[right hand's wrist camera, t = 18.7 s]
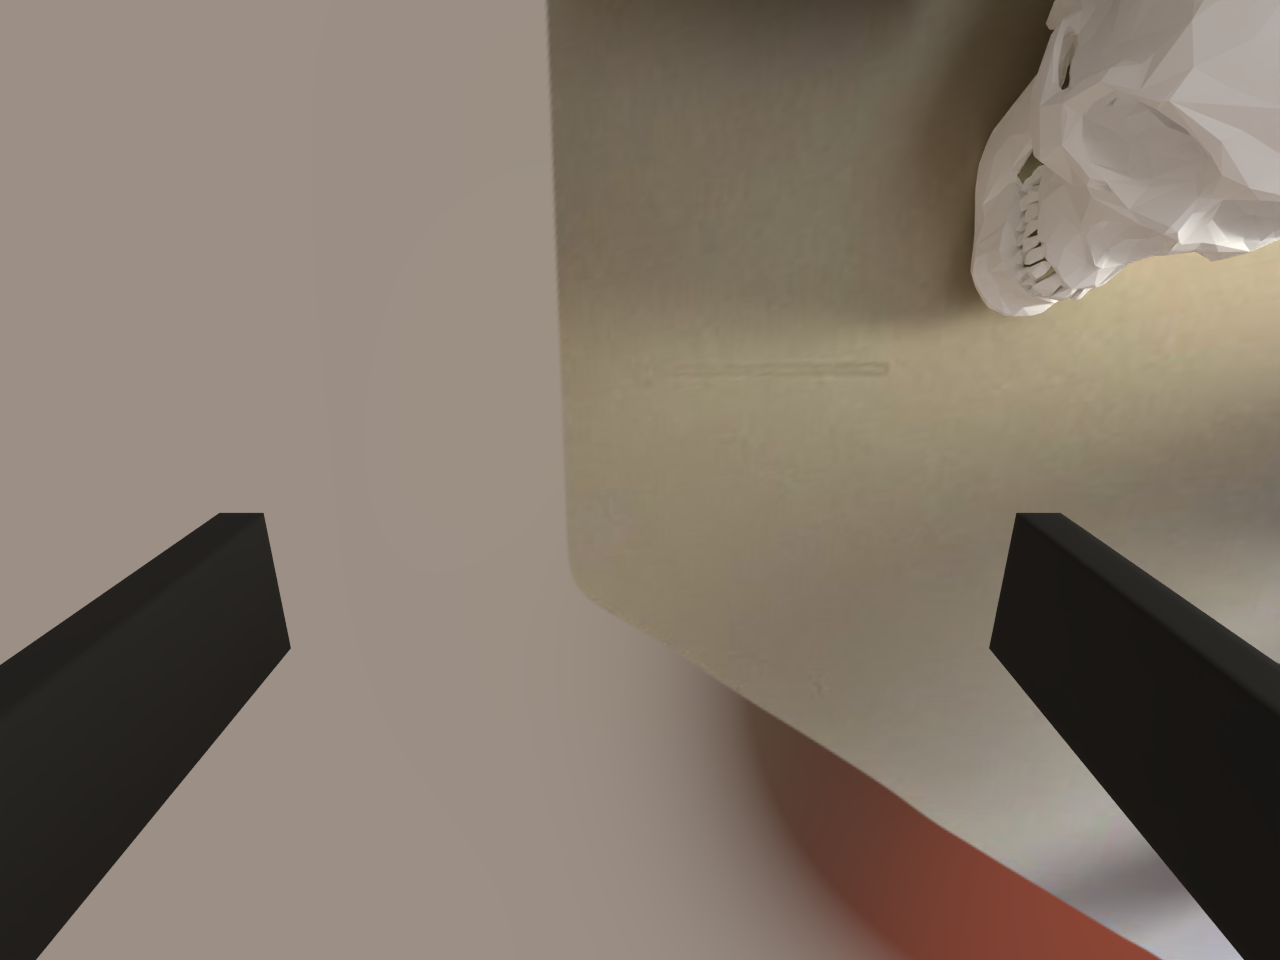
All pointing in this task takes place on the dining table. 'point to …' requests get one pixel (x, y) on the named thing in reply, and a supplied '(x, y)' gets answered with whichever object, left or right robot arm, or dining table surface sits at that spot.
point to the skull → (1132, 148)
